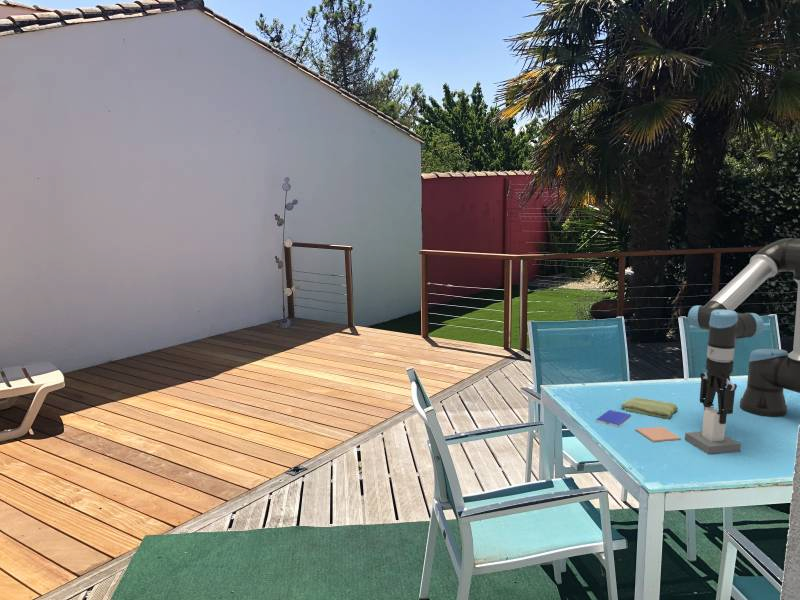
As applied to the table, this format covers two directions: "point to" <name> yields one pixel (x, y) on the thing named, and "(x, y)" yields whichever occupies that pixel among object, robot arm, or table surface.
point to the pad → (658, 434)
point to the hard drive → (613, 418)
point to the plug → (711, 426)
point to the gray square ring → (712, 443)
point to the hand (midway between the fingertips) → (713, 429)
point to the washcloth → (650, 407)
